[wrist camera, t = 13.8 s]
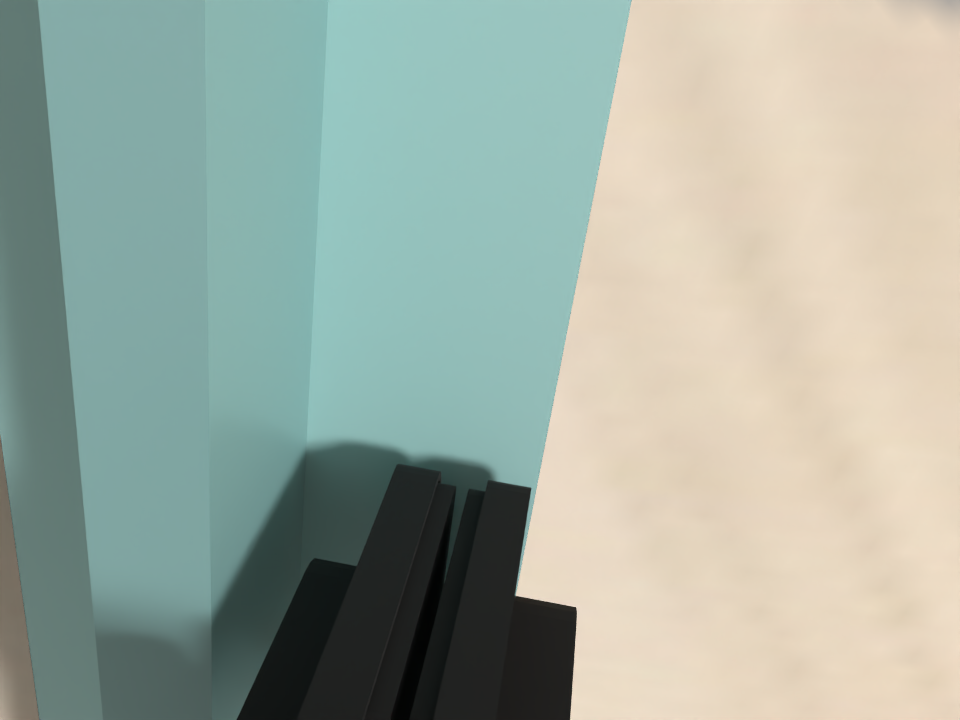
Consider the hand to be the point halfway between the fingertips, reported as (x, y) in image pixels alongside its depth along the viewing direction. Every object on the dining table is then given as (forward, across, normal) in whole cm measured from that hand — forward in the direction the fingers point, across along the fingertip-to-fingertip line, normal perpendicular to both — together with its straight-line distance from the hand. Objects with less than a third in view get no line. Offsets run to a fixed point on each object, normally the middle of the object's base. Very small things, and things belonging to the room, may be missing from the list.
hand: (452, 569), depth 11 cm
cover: (+1, +3, +1) cm, 3 cm away
